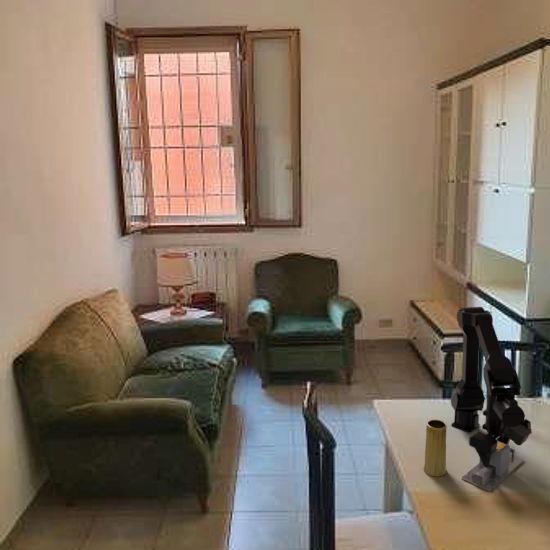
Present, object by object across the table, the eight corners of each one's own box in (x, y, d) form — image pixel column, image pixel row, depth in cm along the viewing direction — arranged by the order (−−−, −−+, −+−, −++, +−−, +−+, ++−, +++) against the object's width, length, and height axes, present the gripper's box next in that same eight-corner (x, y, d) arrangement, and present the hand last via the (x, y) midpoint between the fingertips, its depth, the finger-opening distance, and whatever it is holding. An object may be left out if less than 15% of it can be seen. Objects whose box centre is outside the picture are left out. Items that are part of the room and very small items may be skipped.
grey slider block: (479, 467, 157) (480, 443, 155) (487, 460, 160) (489, 437, 158) (500, 476, 152) (501, 452, 151) (508, 468, 155) (510, 444, 154)
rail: (461, 479, 152) (462, 470, 152) (497, 450, 166) (497, 442, 165) (489, 491, 147) (490, 483, 146) (524, 461, 160) (524, 452, 159)
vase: (446, 466, 159) (448, 420, 155) (445, 478, 153) (447, 430, 150) (424, 462, 161) (425, 417, 157) (422, 474, 155) (424, 427, 152)
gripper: (511, 431, 140) (506, 487, 144) (542, 406, 152) (538, 458, 156) (469, 416, 148) (466, 469, 152) (502, 393, 160) (499, 443, 164)
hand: (494, 460), depth 155 cm, fingers open, 9 cm apart
